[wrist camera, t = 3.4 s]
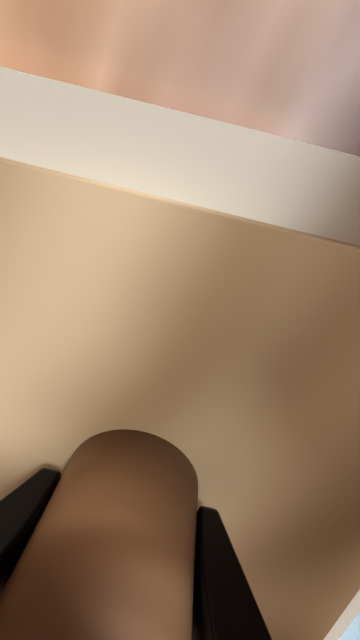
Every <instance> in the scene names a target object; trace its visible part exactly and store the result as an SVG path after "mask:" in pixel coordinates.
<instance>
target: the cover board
mask: <svg viewBox="0 0 360 640" xmlns="http://www.w3.org/2000/svg"><path fill="white" fill-rule="evenodd" d="M45 467H47V468H51V469H55V470H59V471H60V472H61V478H60V480H59V482H58V484H57V486H56V488H55V490H54V492H53V494H52V496H51V498H50V500H49V502H48V504H47V506H46V508H45V509H44V511H43V513H42V515H41V517H40V519H39V521H38V523H37V525H36V527H35V529H34V531H33V533H32V535H31V537H30V539H29V541H28V542H27V544H26V546H25V548H24V550H23V552H22V554H21V556H20V558H19V560H18V562H17V564H16V566H15V568H14V570H13V572H12V573H11V575H10V577H9V579H8V581H7V583H6V585H5V587H4V589H3V591H2V593H1V595H0V640H191V635H192V614H193V592H194V570H195V549H196V527H197V511H198V508H199V507H200V506H206V507H210V508H214V509H216V510H217V511H218V512H219V514H220V517H221V519H222V521H223V524H224V526H225V529H226V531H227V533H228V536H229V538H230V540H231V543H232V545H233V548H234V550H235V552H236V555H237V557H238V559H239V562H240V564H241V567H242V569H243V571H244V574H245V576H246V579H247V581H248V583H249V586H250V588H251V590H252V593H253V595H254V598H255V600H256V602H257V605H258V607H259V609H260V612H261V614H262V617H263V619H264V621H265V624H266V626H267V628H268V631H269V633H270V636H271V638H272V640H324V638H325V637H326V635H327V634H328V633H329V631H330V630H331V628H332V627H333V626H334V624H335V623H336V621H337V620H338V619H339V617H340V616H341V615H342V613H343V612H344V610H345V609H346V608H347V606H348V605H349V603H350V602H351V601H352V599H353V598H354V597H355V595H356V594H357V592H358V591H359V590H360V246H357V245H353V244H349V243H345V242H341V241H337V240H333V239H329V238H325V237H321V236H317V235H313V234H308V233H304V232H300V231H296V230H292V229H288V228H284V227H280V226H276V225H272V224H268V223H264V222H260V221H256V220H252V219H248V218H244V217H240V216H236V215H232V214H228V213H224V212H220V211H216V210H212V209H208V208H204V207H200V206H196V205H192V204H188V203H184V202H180V201H176V200H172V199H168V198H164V197H160V196H156V195H152V194H148V193H144V192H140V191H136V190H132V189H128V188H124V187H120V186H116V185H112V184H108V183H104V182H100V181H95V180H91V179H87V178H83V177H79V176H75V175H71V174H67V173H63V172H59V171H55V170H51V169H47V168H43V167H39V166H35V165H31V164H27V163H23V162H19V161H15V160H11V159H7V158H3V157H0V500H1V499H3V498H4V497H5V496H6V495H8V494H9V493H10V492H12V491H13V490H14V489H16V488H17V487H18V486H19V485H21V484H22V483H23V482H25V481H26V480H27V479H29V478H30V477H31V476H32V475H34V474H35V473H36V472H38V471H39V470H40V469H42V468H45Z"/></svg>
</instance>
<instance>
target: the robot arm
mask: <svg viewBox="0 0 360 640" xmlns="http://www.w3.org/2000/svg"><path fill="white" fill-rule="evenodd" d="M60 478H61V472H60V471H59V470H55V469H51V468H47V467H45V468H42V469H40V470H39V471H38V472H36V473H35V474H34V475H32V476H31V477H30V478H29V479H27V480H26V481H25V482H23V483H22V484H21V485H19V486H18V487H17V488H16V489H14V490H13V491H12V492H10V493H9V494H8V495H6V496H5V497H4V498H3V499H1V500H0V595H1V593H2V591H3V589H4V587H5V585H6V583H7V581H8V579H9V577H10V575H11V573H12V572H13V570H14V568H15V566H16V564H17V562H18V560H19V558H20V556H21V554H22V552H23V550H24V548H25V546H26V544H27V542H28V541H29V539H30V537H31V535H32V533H33V531H34V529H35V527H36V525H37V523H38V521H39V519H40V517H41V515H42V513H43V511H44V509H45V508H46V506H47V504H48V502H49V500H50V498H51V496H52V494H53V492H54V490H55V488H56V486H57V484H58V482H59V480H60ZM191 640H272V638H271V636H270V633H269V631H268V628H267V626H266V624H265V621H264V619H263V617H262V614H261V612H260V609H259V607H258V605H257V602H256V600H255V598H254V595H253V593H252V590H251V588H250V586H249V583H248V581H247V579H246V576H245V574H244V571H243V569H242V567H241V564H240V562H239V559H238V557H237V555H236V552H235V550H234V548H233V545H232V543H231V540H230V538H229V536H228V533H227V531H226V529H225V526H224V524H223V521H222V519H221V517H220V514H219V512H218V511H217V510H216V509H214V508H210V507H206V506H200V507H199V508H198V511H197V527H196V549H195V570H194V592H193V614H192V635H191Z"/></svg>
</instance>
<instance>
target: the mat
mask: <svg viewBox="0 0 360 640" xmlns="http://www.w3.org/2000/svg"><path fill="white" fill-rule="evenodd" d="M0 157H3V158H7V159H11V160H15V161H19V162H23V163H27V164H31V165H35V166H39V167H43V168H47V169H51V170H55V171H59V172H63V173H67V174H71V175H75V176H79V177H83V178H87V179H91V180H95V181H100V182H104V183H108V184H112V185H116V186H120V187H124V188H128V189H132V190H136V191H140V192H144V193H148V194H152V195H156V196H160V197H164V198H168V199H172V200H176V201H180V202H184V203H188V204H192V205H196V206H200V207H204V208H208V209H212V210H216V211H220V212H224V213H228V214H232V215H236V216H240V217H244V218H248V219H252V220H256V221H260V222H264V223H268V224H272V225H276V226H280V227H284V228H288V229H292V230H296V231H300V232H304V233H308V234H313V235H317V236H321V237H325V238H329V239H333V240H337V241H341V242H345V243H349V244H353V245H357V246H360V156H357V155H353V154H349V153H345V152H341V151H337V150H333V149H329V148H325V147H321V146H317V145H313V144H309V143H305V142H301V141H297V140H293V139H289V138H285V137H281V136H277V135H273V134H269V133H265V132H261V131H257V130H253V129H249V128H245V127H241V126H237V125H233V124H229V123H225V122H221V121H217V120H213V119H209V118H205V117H201V116H197V115H193V114H189V113H185V112H181V111H177V110H173V109H169V108H165V107H161V106H157V105H153V104H149V103H145V102H141V101H137V100H133V99H129V98H125V97H121V96H117V95H113V94H109V93H105V92H101V91H97V90H93V89H89V88H85V87H81V86H77V85H73V84H69V83H65V82H61V81H57V80H53V79H49V78H45V77H41V76H37V75H33V74H29V73H25V72H21V71H17V70H13V69H9V68H5V67H1V66H0ZM359 611H360V590H359V591H358V592H357V594H356V595H355V597H354V598H353V599H352V601H351V602H350V603H349V605H348V606H347V608H346V609H345V610H344V612H343V613H342V615H341V616H340V617H339V619H338V620H337V621H336V623H335V624H334V626H333V627H332V628H331V630H330V631H329V633H328V634H327V635H326V637H325V638H324V640H338V639H339V638H340V637H341V635H342V634H343V633H344V631H345V630H346V629H347V627H348V626H349V625H350V623H351V622H352V621H353V619H354V618H355V617H356V615H357V614H358V613H359Z"/></svg>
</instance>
